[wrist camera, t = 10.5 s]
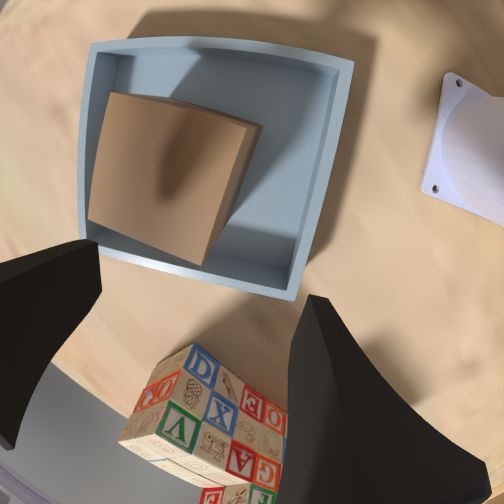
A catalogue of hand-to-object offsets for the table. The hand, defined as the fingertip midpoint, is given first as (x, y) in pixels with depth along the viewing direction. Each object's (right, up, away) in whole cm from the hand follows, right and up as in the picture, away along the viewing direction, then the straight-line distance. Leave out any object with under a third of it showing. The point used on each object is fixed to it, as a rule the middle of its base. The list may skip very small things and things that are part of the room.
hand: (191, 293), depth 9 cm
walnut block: (-1, +7, +7) cm, 10 cm away
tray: (-1, +7, +7) cm, 10 cm away
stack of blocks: (+2, -15, +18) cm, 23 cm away
